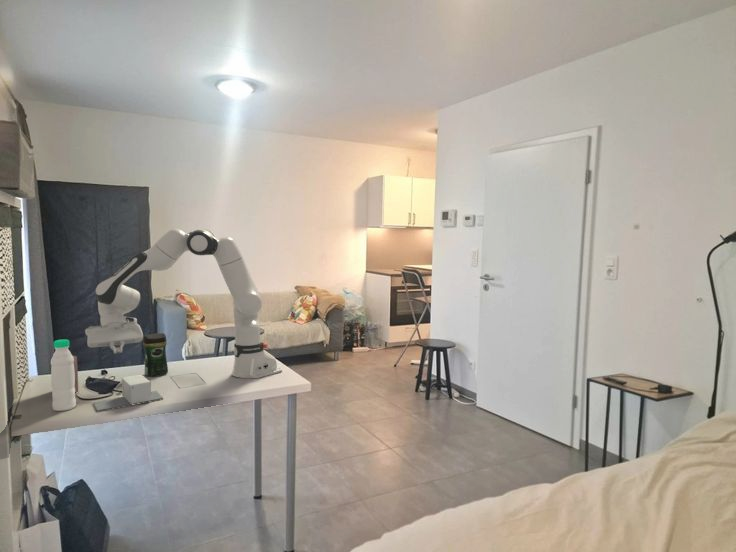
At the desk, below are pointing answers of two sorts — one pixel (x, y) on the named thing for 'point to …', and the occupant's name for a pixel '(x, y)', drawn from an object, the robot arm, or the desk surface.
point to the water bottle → (63, 377)
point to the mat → (121, 402)
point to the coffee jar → (155, 354)
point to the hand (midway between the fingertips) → (118, 352)
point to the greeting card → (75, 373)
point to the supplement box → (136, 389)
